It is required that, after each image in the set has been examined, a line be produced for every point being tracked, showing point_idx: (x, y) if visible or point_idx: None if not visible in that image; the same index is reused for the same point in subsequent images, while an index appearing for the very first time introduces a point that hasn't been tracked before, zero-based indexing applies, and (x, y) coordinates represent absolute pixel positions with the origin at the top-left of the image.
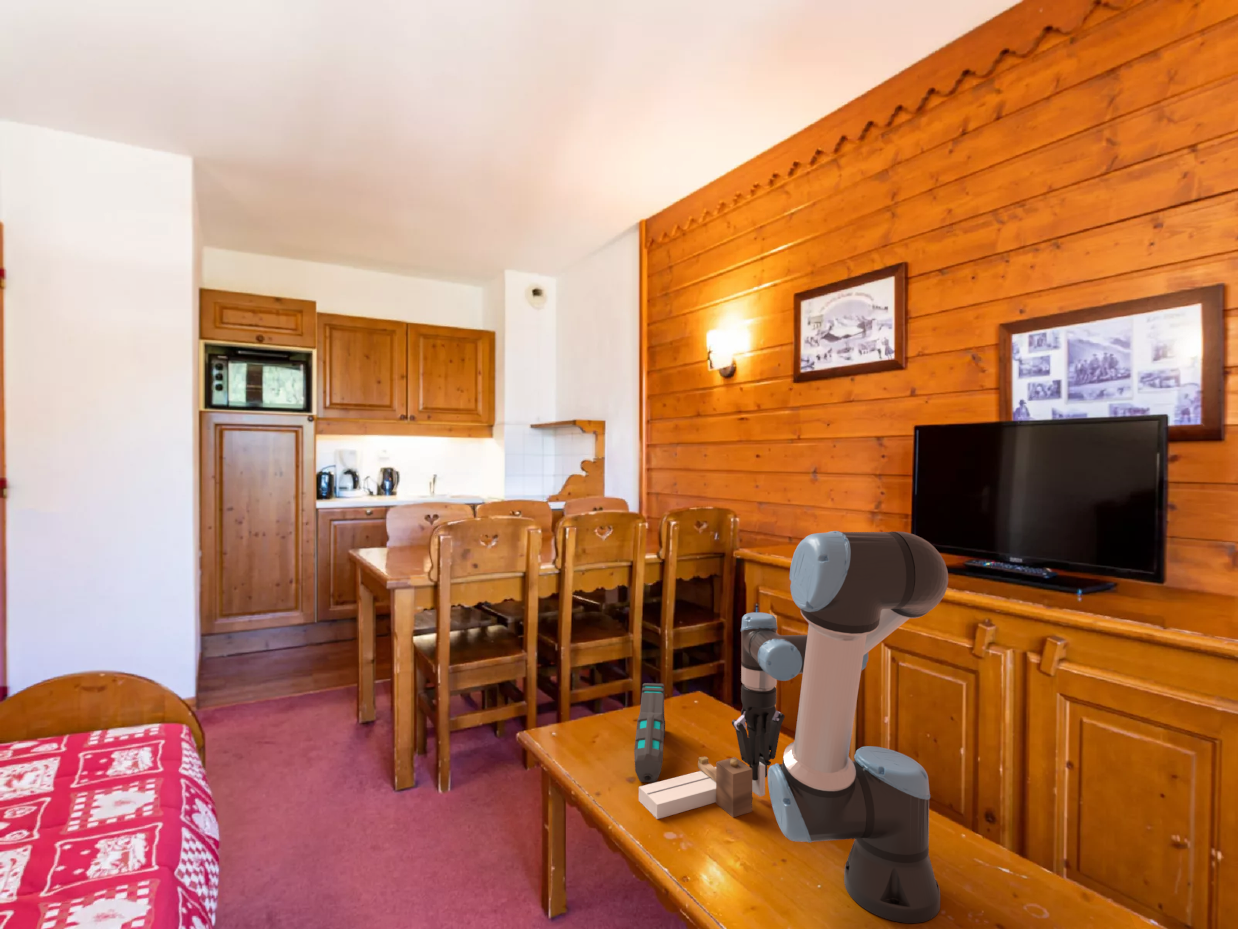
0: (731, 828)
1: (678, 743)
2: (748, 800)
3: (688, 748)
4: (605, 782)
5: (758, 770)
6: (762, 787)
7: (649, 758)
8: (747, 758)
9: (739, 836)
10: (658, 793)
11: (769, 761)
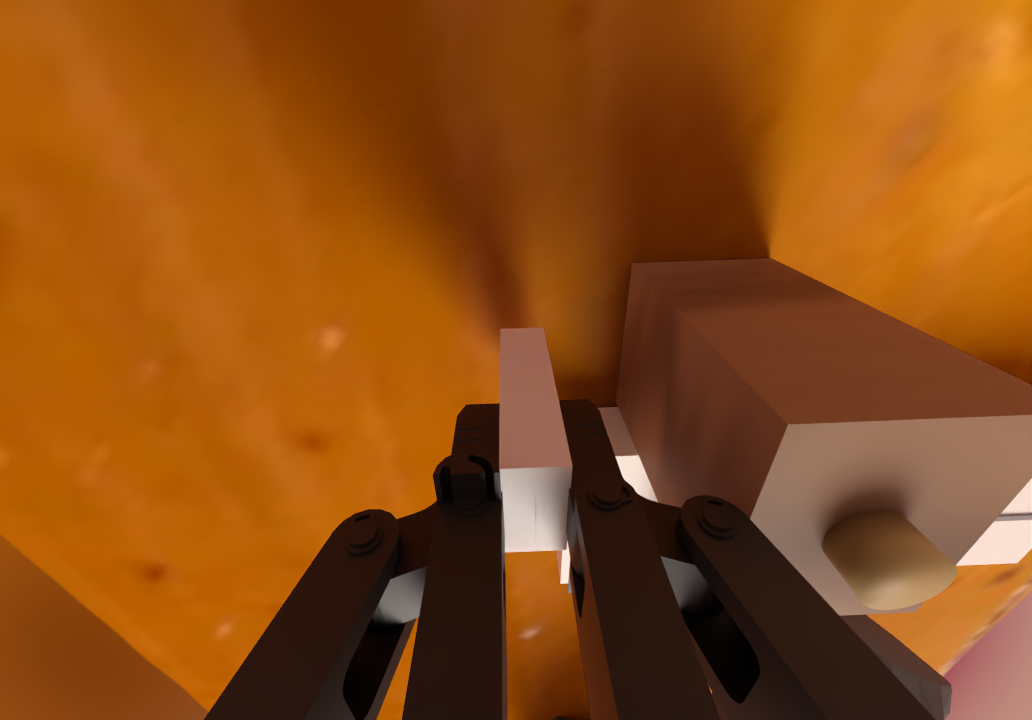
0: (878, 161)
1: (538, 694)
2: (689, 286)
3: (528, 673)
4: (920, 611)
5: (563, 447)
6: (521, 354)
7: (928, 691)
8: (801, 577)
9: (930, 48)
10: (1020, 504)
11: (443, 490)
